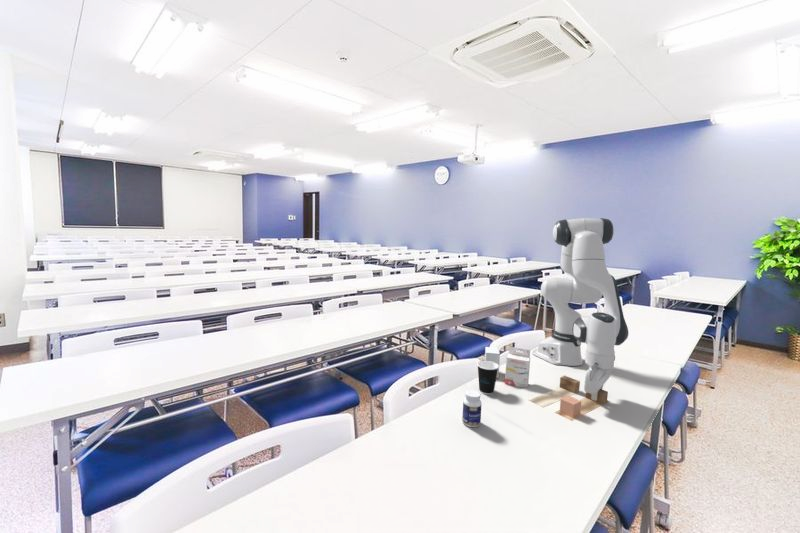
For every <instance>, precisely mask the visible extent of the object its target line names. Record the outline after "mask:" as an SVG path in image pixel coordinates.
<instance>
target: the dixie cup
mask: <svg viewBox="0 0 800 533" xmlns="http://www.w3.org/2000/svg"><path fill="white" fill-rule="evenodd" d="M476 366H477V372H478V373H477V374H478V390H479V393H480V394H484V395H492V394H493V393H494V392H495V387H496V382H497V381H496V380H497V378H496V376H497V370H498V368H499V369H500V364H499V365H498V364H496V363H494V362H491V361H485V360H480V361H478V362H477V363H476Z"/></svg>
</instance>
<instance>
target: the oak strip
mask: <svg viewBox="0 0 800 533" xmlns="http://www.w3.org/2000/svg"><path fill="white" fill-rule="evenodd" d="M608 396H609V392H608V391H607V390H605V389H600V390H599V391H598V399H597V400H596V401H595V400H592V399H591V394H590V393H587V392H585V397H584V398H582V399H579V400H580V401H581V412H580V414H579V415H578V416H576V417H574V418H572V417H570V416H567V415H565V414H563V413H561V412H560V409H559V410H556V411H555V412H554V413H555V414H557V415H559V416H562V417H564V418H565V419H567V420H569V421H574V420H576V419H578V418H580V417H582V416H584V415H586V414H588V413H589V412H591V411H593V410H595V409H598V408H600V407H601V406H604V405H605V404H607V403H608Z"/></svg>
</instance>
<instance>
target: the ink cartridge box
mask: <svg viewBox="0 0 800 533" xmlns="http://www.w3.org/2000/svg"><path fill="white" fill-rule="evenodd" d="M505 361H506V364H505V365H506V366H505V374H504V375H505V376H504V377H505V379H504V384H505V385H507V386H513V387H517V388H522V389H524V388H528V386H529V380H530V369H531V368H530V367H531V366H530V365H531V349H527V348H521V347H514V346H509V347H508V354H507V356H506V360H505Z"/></svg>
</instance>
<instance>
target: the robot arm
mask: <svg viewBox="0 0 800 533" xmlns="http://www.w3.org/2000/svg"><path fill="white" fill-rule="evenodd" d="M614 231H615V230H614V225H613V222H612V221H611V220H610V219H608V218H604V217H601V218H593V217H582V218H571V219H566V218H565V219H561V220H558V221H556V222H555V223H554V227H553V229H552V237H553V240H554V242H555V243H556V244H557V245H560V246H561V250H560V251H561V254H560V263H559V267H560V269H561V270H562V271H563V272H564V273H565V274H566V275H569V276H571V277H572V278H570V277H569V278H567V277H566V278H565V277H549V278H545V279H544V280H543V281H542V283H541V285H540V292H541V293H540V294H541V295H542V297H543V298H544V299H545V300H546V301H547V302H548V303H549V304H550V305H551V306H552V308H553V312H554V317H555V318H554V320H555V324H554V327H555V328H554V329H553V328H552V329H551V330H550V331H549V333H550V334H551V335H550V336H548V337H546V338H544V339H542V340H540V342H539V343H538V345H537V348H536V349H533V350H532V352H531V354H532V355H533V356H535V357H537V358H539V359H541V360H544V361H546V362H548V363H550V364H552V365H557V366H566V367H567V366H569V367H571V366H572V367H578V366H581V365H583V363H585V364H586V365H587V366H588V369H587V370H586V373H585V377H584V387H583V389H584V392H585V393H586V392H587V393H590V394H591V399H592V400H595V401H596V400H597V399H598V391H599V390H600V389H602V390H604V388H603V387H604V386H605V384H606V382H607V381H608V380H609V379H610V378H611V374H612V369H613V368H615V367H614V366H615V360H616V355H615V353H616V352H615V346H621V345H623V343H624V342H625V341H626V340H627V339H628V337H629V328H628V325H627V322H626V320H625V316H624V312H623V311H624V310H623V307H622V303H621V298H620V293H619V288H618V284H617V282H616V279H615V276H613V275H612V274H611V273H609V270H608V269H607V266H606V256H605V247H604V246H605V244H609V243H610V242H611V240H613V236H614ZM602 297H603V299H604V304H605V310H606V313H605V312H599V311H598V312H592V313H590V315H589V316H582V315H581V313H579V312H578V311H576V310H575V309H573V308H571V307H570V306H569V303H576V304H596V303H598V302H599V301H601V299H602ZM583 343H584V344H586V345H587V346H586V349H585V360H584V362H583V359H582V351H581V348H582V347H581V345H582V344H583Z"/></svg>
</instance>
